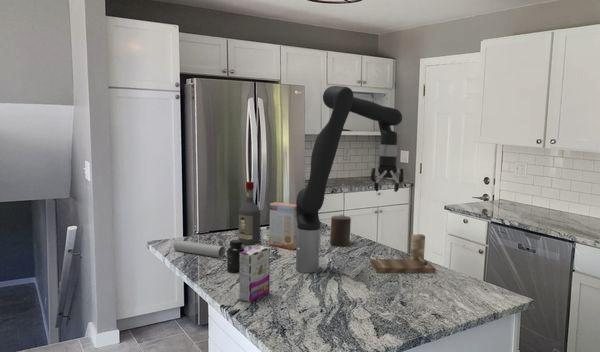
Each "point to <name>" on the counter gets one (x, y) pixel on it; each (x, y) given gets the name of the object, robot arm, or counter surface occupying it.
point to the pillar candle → (340, 231)
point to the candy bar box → (254, 273)
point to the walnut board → (401, 266)
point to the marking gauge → (418, 247)
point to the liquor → (249, 218)
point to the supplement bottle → (234, 256)
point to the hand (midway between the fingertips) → (386, 191)
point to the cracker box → (283, 225)
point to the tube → (200, 249)
